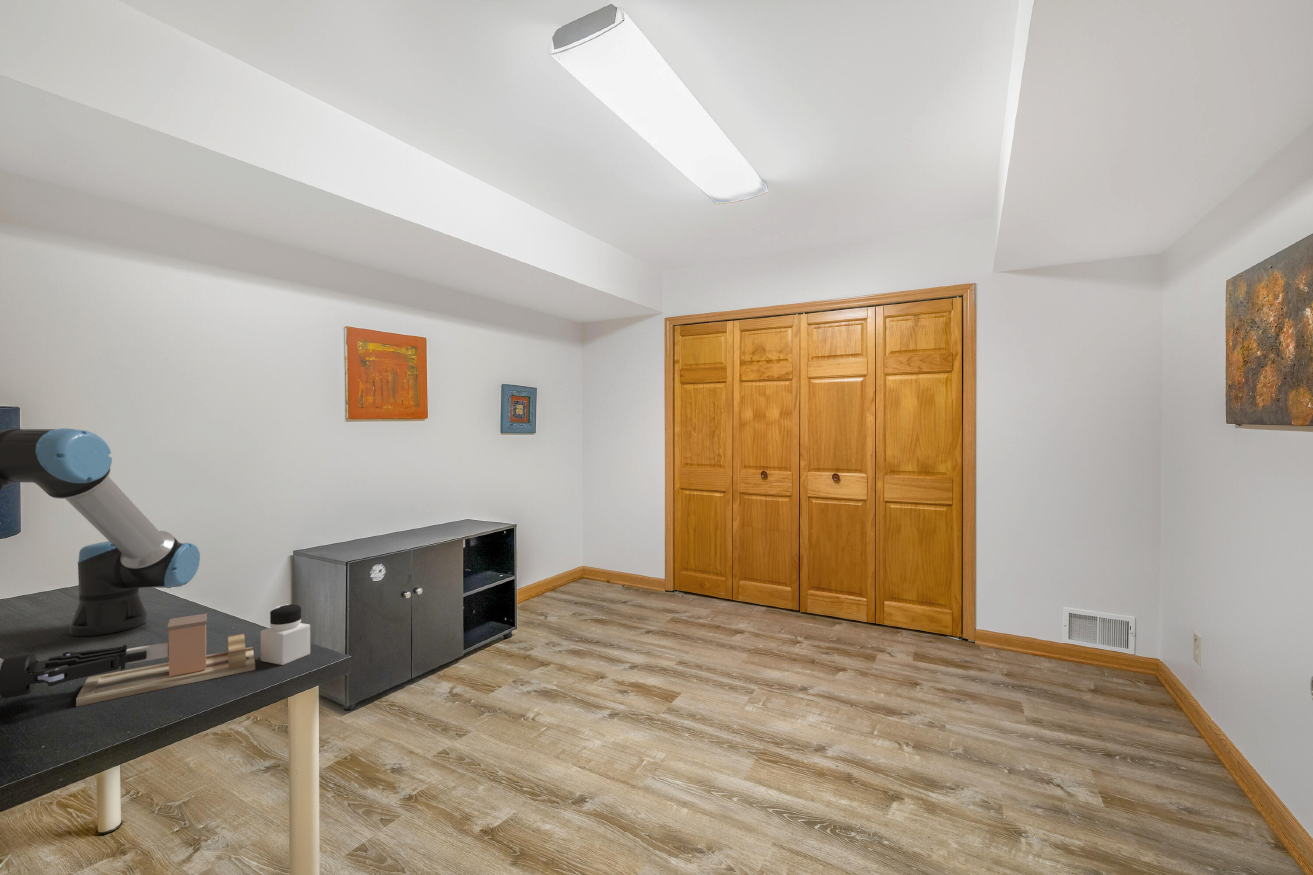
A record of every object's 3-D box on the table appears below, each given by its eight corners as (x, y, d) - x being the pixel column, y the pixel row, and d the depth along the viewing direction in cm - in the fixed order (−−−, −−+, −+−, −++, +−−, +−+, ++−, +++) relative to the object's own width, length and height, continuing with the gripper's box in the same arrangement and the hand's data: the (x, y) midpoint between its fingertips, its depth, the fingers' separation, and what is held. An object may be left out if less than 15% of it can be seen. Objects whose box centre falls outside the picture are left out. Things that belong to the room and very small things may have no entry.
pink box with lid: (170, 667, 124) (169, 618, 124) (207, 660, 128) (207, 613, 128) (167, 677, 119) (167, 626, 119) (206, 669, 123) (206, 620, 123)
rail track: (88, 684, 118) (88, 660, 118) (253, 652, 135) (253, 631, 135) (76, 706, 109) (76, 680, 109) (255, 669, 126) (255, 647, 125)
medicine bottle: (311, 653, 135) (311, 603, 134) (282, 665, 128) (282, 612, 128) (289, 650, 137) (288, 600, 137) (259, 661, 130) (259, 609, 130)
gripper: (13, 685, 112) (170, 657, 126) (-10, 711, 101) (165, 677, 115) (13, 647, 111) (170, 623, 126) (-10, 669, 101) (165, 640, 115)
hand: (168, 649), depth 120 cm, fingers closed
